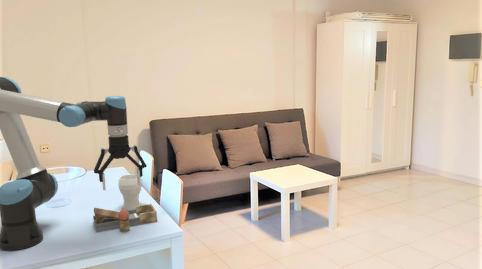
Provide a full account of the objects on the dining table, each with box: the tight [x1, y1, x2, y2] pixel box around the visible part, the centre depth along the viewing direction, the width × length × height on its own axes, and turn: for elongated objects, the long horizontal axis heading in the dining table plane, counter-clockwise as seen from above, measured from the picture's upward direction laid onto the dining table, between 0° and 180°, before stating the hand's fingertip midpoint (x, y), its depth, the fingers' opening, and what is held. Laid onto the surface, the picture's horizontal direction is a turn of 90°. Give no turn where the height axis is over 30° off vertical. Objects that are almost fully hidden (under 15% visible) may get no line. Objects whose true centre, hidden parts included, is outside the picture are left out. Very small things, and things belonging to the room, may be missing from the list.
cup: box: [118, 173, 143, 210], centre depth 189 cm, size 11×11×15 cm
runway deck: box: [92, 209, 142, 233], centre depth 171 cm, size 18×11×3 cm, turn 114°
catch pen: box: [136, 203, 158, 225], centre depth 176 cm, size 7×11×4 cm, turn 24°
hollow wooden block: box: [119, 219, 131, 233], centre depth 164 cm, size 3×3×5 cm
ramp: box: [93, 207, 129, 224], centre depth 170 cm, size 14×8×6 cm, turn 114°
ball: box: [118, 209, 129, 220], centre depth 163 cm, size 4×4×4 cm
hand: (122, 187), depth 161 cm, fingers open, 13 cm apart
